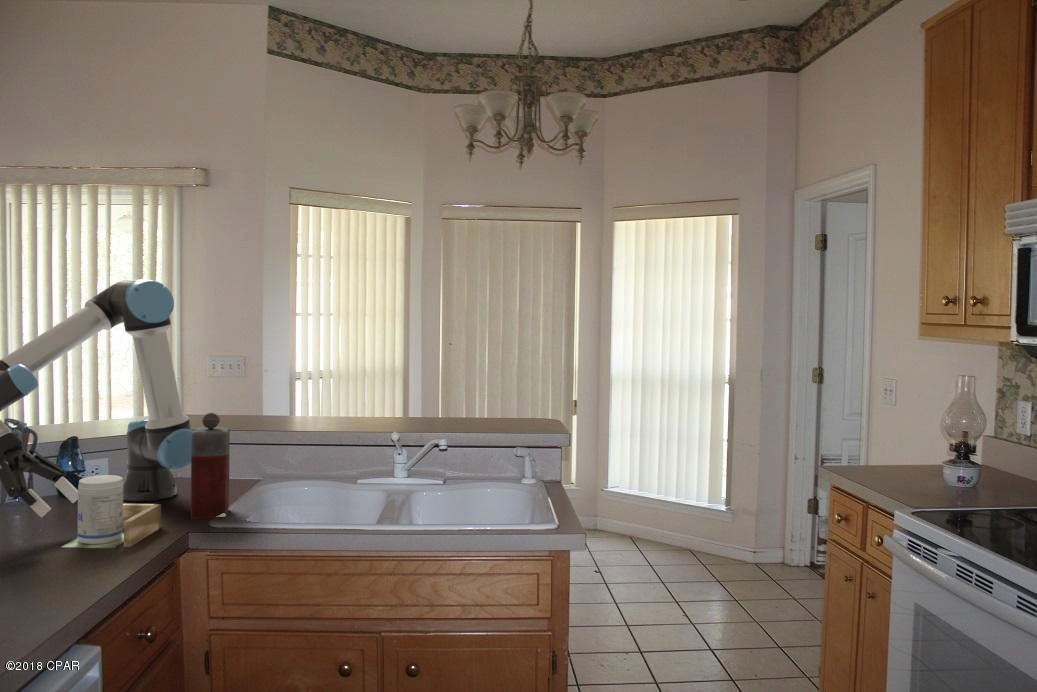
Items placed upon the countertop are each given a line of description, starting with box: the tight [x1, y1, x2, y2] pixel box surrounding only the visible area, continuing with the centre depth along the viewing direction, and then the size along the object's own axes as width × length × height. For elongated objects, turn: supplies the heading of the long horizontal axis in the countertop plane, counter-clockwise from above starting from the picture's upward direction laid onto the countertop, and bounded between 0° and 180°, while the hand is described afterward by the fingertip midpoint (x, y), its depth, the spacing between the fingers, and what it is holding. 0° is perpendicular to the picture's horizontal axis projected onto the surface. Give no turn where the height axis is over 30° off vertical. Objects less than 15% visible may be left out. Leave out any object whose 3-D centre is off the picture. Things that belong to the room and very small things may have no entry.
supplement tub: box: [76, 474, 124, 544], centre depth 181 cm, size 10×10×15 cm
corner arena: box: [60, 503, 162, 549], centre depth 184 cm, size 15×18×6 cm
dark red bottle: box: [190, 411, 231, 520], centre depth 208 cm, size 9×11×28 cm
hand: (62, 505), depth 180 cm, fingers open, 13 cm apart
